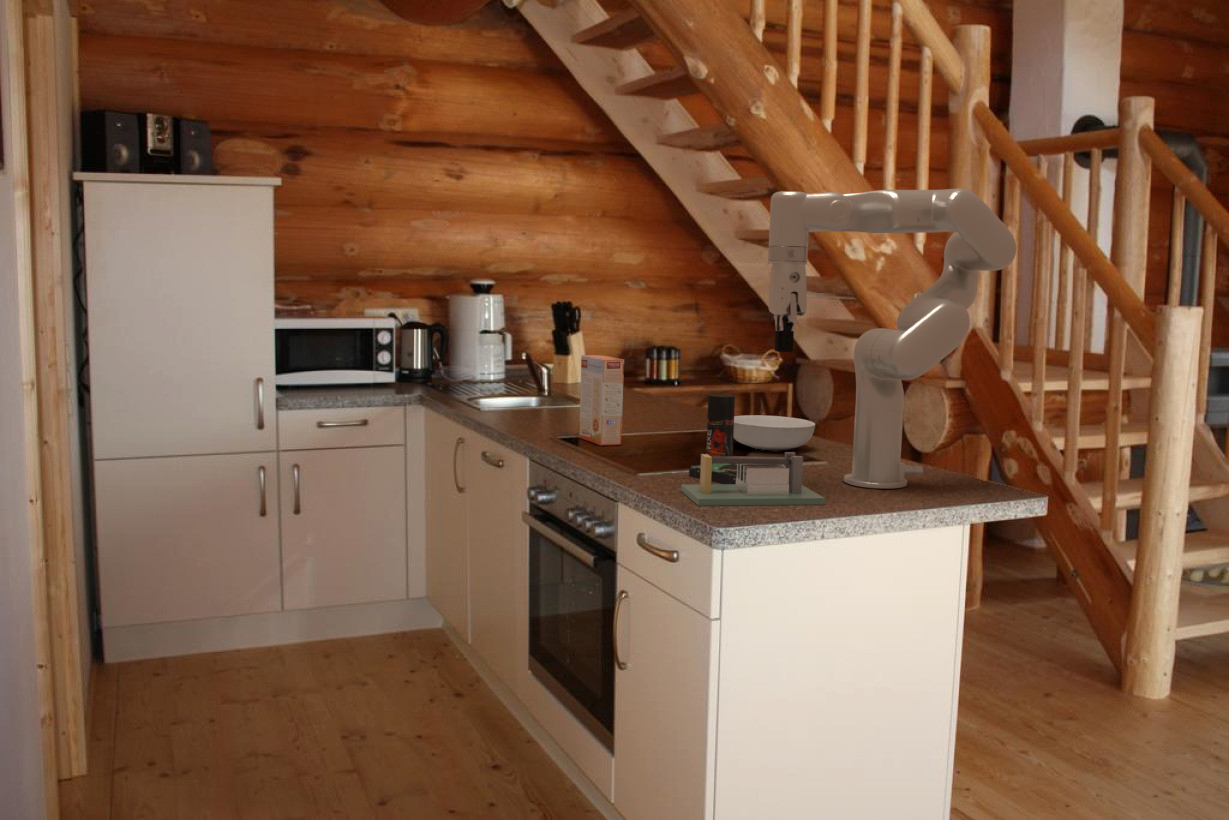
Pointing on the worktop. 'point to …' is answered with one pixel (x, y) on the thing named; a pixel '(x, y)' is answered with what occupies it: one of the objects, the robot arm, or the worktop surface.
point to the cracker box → (601, 399)
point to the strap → (751, 460)
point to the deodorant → (720, 425)
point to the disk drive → (718, 473)
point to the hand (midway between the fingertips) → (783, 351)
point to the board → (732, 496)
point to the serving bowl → (772, 431)
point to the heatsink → (762, 479)
